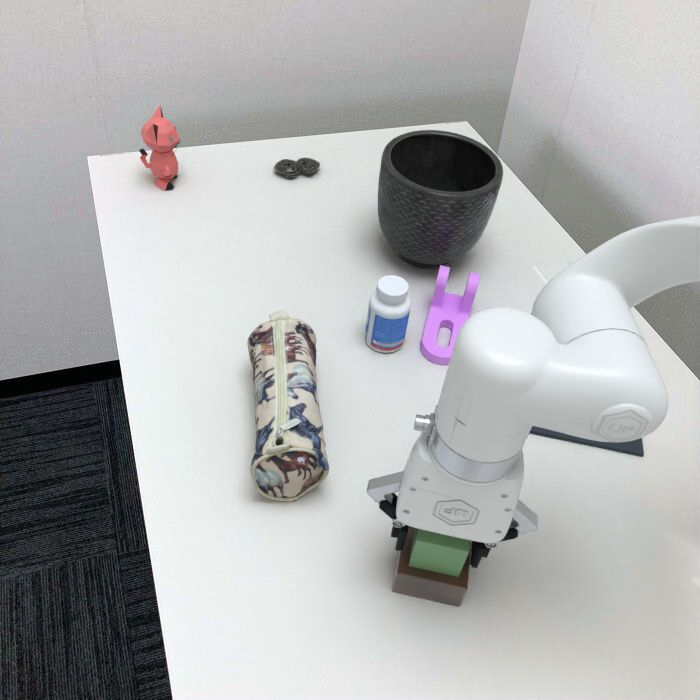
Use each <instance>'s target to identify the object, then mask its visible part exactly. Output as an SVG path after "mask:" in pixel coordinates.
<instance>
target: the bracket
mask: <svg viewBox="0 0 700 700" xmlns="http://www.w3.org/2000/svg"><path fill="white" fill-rule="evenodd" d="M450 270H451V267H450V266H447V265H444V266H442V265H440V267H439V268H438V273H437V277H436V281H435V286H434V289H433V294H432V299H431V303H430V307H429V310H428V314H427V319H426V322H425V326H424V330H423V334H422V338H421V342H420V352H421V354H422V355H423V357H424V358H425V359H426V360H428V361H429V362H431V363H433V364H436V365H441V366H448V365H449V362H450V358H451V355H452V351H453V347H454V344H455V341H456V338H457V335H458V332H459V330H460V328H461V327H462V325H463V324H464V322H465V321H466V320H467V319H468V318H469V317H471V313H472V308H473V305H474V302H475V298H476V295H477V291H478V286H479V283H480V279H481V273H477V272H473V271H470V272H469V273H468V278H467V282H466V285H465V289H464V292H463V296H462V295H458V294H454V293H450V292H445V291H446V287H447V283H448V278H449V274H450ZM441 328H448V329H449V330H450V331H451V335H450V339H449V344H448V346H443V347H442V346H440V345H439V344H438V343H437V339H438V334H439V331H440V330H439V329H441Z"/></svg>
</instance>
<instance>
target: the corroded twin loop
mask: <svg viewBox="0 0 700 700" xmlns="http://www.w3.org/2000/svg"><path fill="white" fill-rule="evenodd" d="M305 166H307V167H305ZM320 166H321V163H320V162H319V161H318V160H316V159H314V158H311V157H300V158H298V159H297V160H294V159H288V158H284V159H281V160H279V161H277V162H275V164H274V166H273V169H274V170H275V172H276V173H277V174H278V175H280V176H283V177H285V178H288V179H292V178H296V177H297V176H298V175H299V174H301V175H305V176H312V175H314V174H316V172H317V171H318V170H319V169H320ZM290 167H291V168H293V169H294V170H290Z"/></svg>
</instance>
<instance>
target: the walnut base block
mask: <svg viewBox="0 0 700 700" xmlns="http://www.w3.org/2000/svg"><path fill="white" fill-rule="evenodd" d="M413 533H414V527H411V526H409V528H408V533H407V537H406V540H405V544H404V547H403V550H401V551H397V557H396V563H395V569H394V575H393V581H392V586H391V592H392V593H397V594H402V595H405V596H410V597H415V598H419V599H423V600H428V601H432V602H436V603H441V604H446V605H449V606H455V607H459V608H460V606H461V605H462V602H463V601H464V598H465V596H466V593H467V591H468V589H469V579H470V577H469V576H470V568H471V567H470V566H471V565H470V556H471V545H472V540H470V547H469V553H468V556H467V558H466V560H465V563H464V565H463V568H462V570H461V572H460V575H459V577H455V576H451V575H447V574H442V573H438V572H433V571H429V570H424V569H420V568H415V567H411V566H409V559H410V553H411V546H412V539H413Z"/></svg>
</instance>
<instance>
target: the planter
mask: <svg viewBox="0 0 700 700" xmlns="http://www.w3.org/2000/svg"><path fill="white" fill-rule="evenodd" d="M380 159H381V160H380V168H379V174H378V185H377V186H378V187H377V216H378V224H379V227H380V230H381V233H382V235H383V238H384V239H385V240H386V243H388V245H389V246H390V247H391V248H392V249H393V250H394V251H395V252H396V253H397V255H398V256H399V257H400V258H401V259H402V260H403V261H404V262H406V263H408V264H409V265H411V266H414V267H416V268H421V269H428V270H429V269H430V270H431V269H440V265H442V266H447V265H448V264H449V263H451V262H454V261H457V260H458V259H461V258H463V257H464V256H466V255H467V254H468V253H470V252H471V250H472V249H473V248H474V247H475V246H476V245H477V244H478V242H479V241H480V239H481V238H482V236H483V234H484V232H485V230H486V228H487V226H488V223H489V221H490V219H491V217H492V214H493V211H494V209H495V206H496V203H497V201H498V197H499V193H500V189H501V186H502V182H503V178H504V167H503V164H502V161H501V160H500V158H499V157H498V156H497V155H496V154H495V152H494V151H493V150H491V149H490V148H489V147H488V146H486V145H485V144H483V143H481V142H480V141H478V140H476V139H474V138H471V137H470V136H467V135H465V134H460V133H457V132H451V131H448V130H440V129H421V130H413V131H409V132H405V133H402V134H400V135H398V136H396V137H394V138H392V139H390V141H388V142H387V144H386V145H385V146H384V149H383V151H382V154H381V158H380Z"/></svg>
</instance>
